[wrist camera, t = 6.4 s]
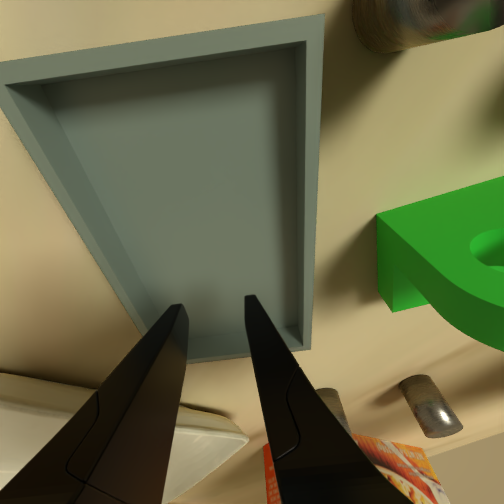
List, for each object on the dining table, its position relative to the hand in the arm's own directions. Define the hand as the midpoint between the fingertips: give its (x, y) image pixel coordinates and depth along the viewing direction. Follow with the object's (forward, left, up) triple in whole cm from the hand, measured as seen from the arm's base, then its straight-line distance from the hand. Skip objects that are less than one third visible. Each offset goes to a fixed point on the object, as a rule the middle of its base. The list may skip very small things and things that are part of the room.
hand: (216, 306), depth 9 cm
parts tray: (+1, 0, -5) cm, 5 cm away
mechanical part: (-15, +1, -5) cm, 16 cm away
